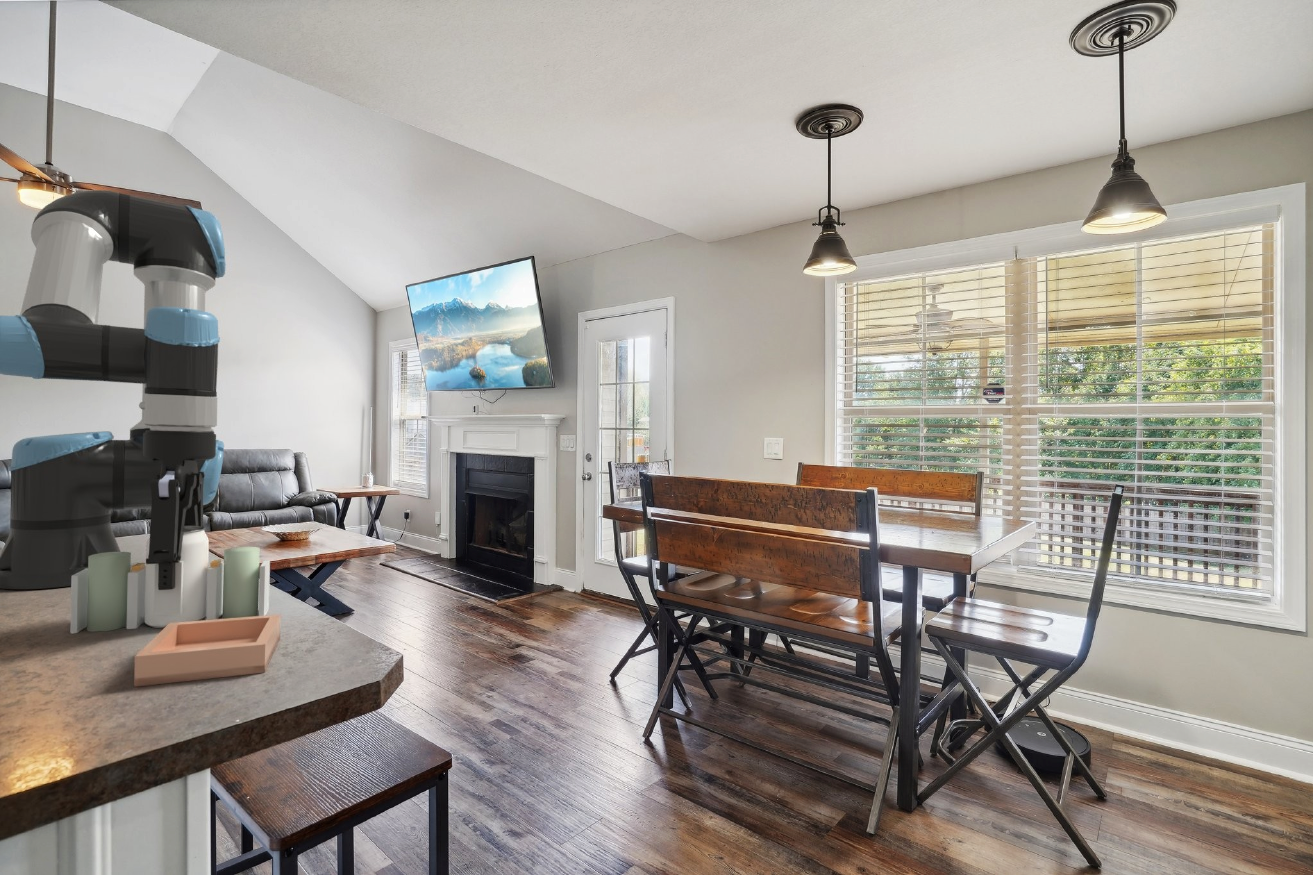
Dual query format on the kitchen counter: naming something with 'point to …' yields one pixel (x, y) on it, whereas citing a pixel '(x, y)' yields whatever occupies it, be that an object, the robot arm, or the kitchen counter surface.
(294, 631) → the kitchen counter surface
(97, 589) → the peg
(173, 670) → the tray
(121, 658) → the kitchen counter surface
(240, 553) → the green piece
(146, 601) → the can
